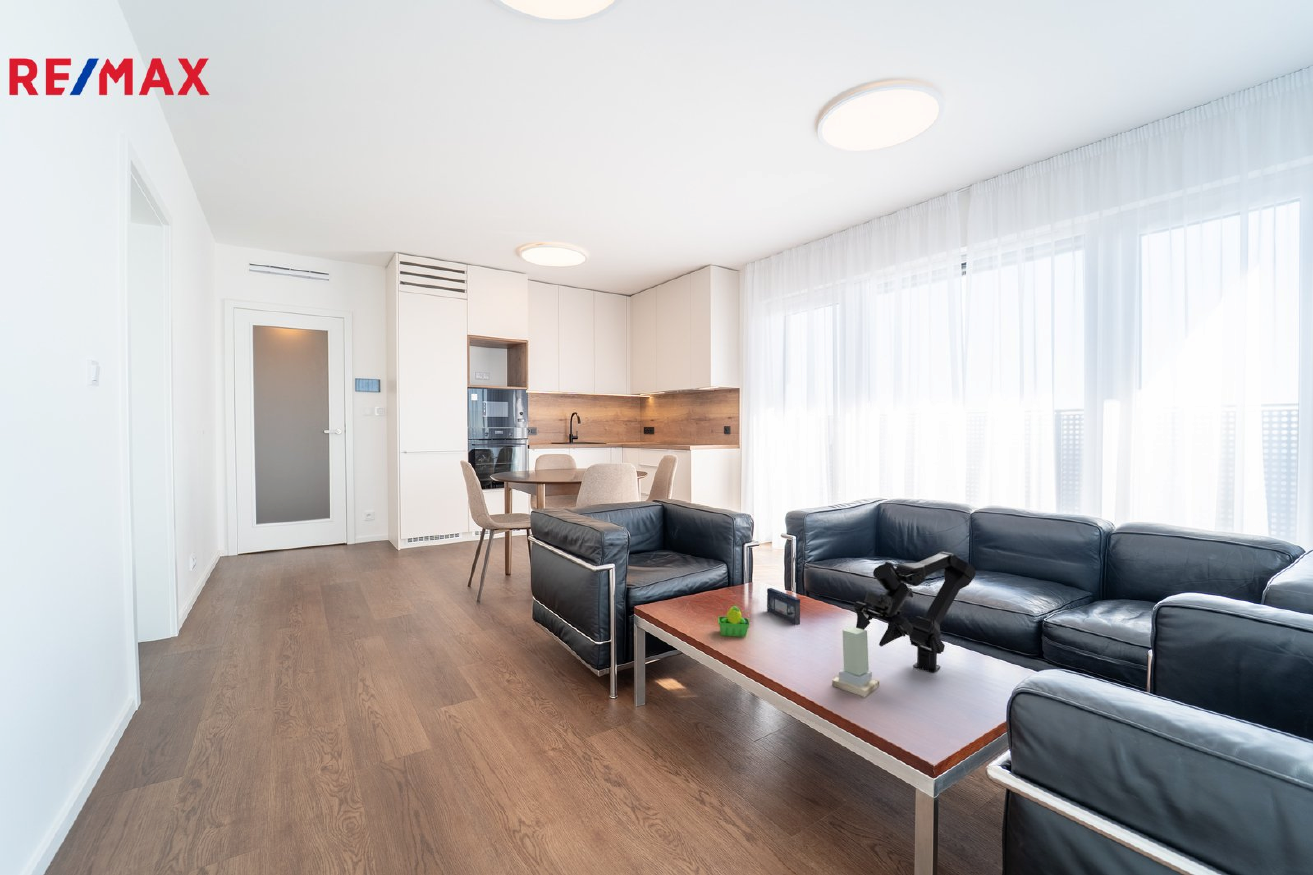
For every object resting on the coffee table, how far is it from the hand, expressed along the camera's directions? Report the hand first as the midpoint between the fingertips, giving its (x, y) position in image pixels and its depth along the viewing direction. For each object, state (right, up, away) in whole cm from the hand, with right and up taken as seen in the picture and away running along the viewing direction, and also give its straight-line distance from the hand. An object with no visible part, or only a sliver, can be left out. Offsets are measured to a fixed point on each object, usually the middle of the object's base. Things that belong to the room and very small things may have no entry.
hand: (867, 640), depth 167 cm
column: (-4, -8, -2) cm, 10 cm away
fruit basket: (-35, -12, +39) cm, 54 cm away
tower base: (-4, -14, -2) cm, 14 cm away
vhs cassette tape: (-12, -13, +60) cm, 63 cm away
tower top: (-4, -11, -2) cm, 12 cm away
